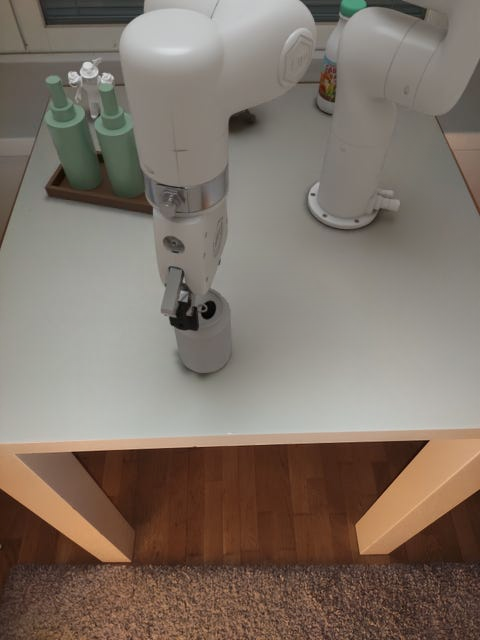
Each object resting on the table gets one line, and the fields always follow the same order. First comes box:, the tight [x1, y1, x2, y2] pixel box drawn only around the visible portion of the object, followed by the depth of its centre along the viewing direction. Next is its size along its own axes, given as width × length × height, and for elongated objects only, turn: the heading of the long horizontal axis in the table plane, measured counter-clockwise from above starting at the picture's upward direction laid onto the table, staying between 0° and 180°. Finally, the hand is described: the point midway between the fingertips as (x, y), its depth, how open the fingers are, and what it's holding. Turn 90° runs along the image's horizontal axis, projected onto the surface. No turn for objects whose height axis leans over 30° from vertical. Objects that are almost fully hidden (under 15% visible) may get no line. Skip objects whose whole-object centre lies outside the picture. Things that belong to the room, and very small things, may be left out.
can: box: [173, 287, 232, 374], centre depth 64 cm, size 8×8×12 cm
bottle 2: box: [93, 83, 145, 198], centre depth 79 cm, size 6×6×19 cm
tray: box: [44, 150, 153, 216], centre depth 86 cm, size 30×12×3 cm, turn 77°
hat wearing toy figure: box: [67, 56, 116, 119], centre depth 94 cm, size 9×4×12 cm, turn 87°
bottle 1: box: [44, 74, 103, 191], centre depth 80 cm, size 6×6×19 cm
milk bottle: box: [316, 0, 367, 115], centre depth 93 cm, size 8×8×20 cm
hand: (196, 292), depth 56 cm, fingers open, 9 cm apart
